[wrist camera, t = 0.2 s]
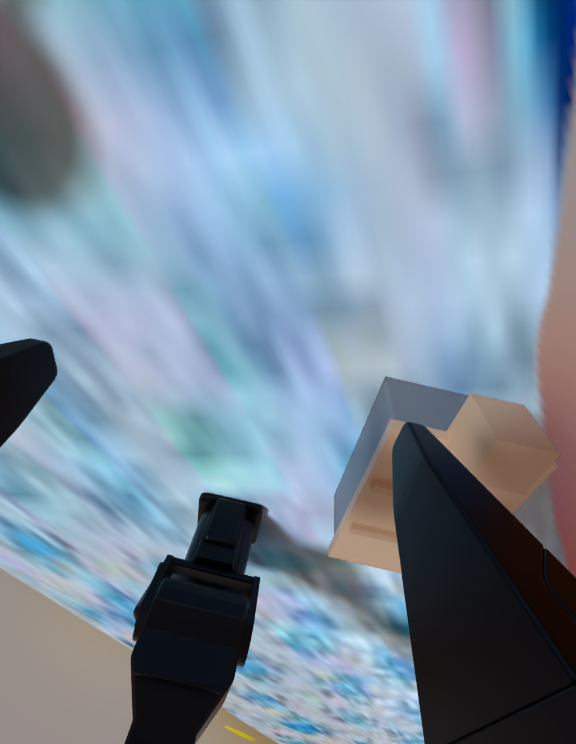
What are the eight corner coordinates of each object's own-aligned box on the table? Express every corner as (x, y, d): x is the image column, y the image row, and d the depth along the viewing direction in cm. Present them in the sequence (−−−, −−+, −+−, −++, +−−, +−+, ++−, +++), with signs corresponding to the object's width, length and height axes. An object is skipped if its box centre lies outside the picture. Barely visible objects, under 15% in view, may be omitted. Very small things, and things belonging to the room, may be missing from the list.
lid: (443, 573, 28) (457, 623, 25) (328, 547, 28) (327, 594, 25) (584, 419, 18) (633, 471, 15) (409, 379, 18) (424, 423, 15)
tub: (426, 516, 32) (440, 571, 28) (334, 495, 32) (334, 546, 28) (507, 404, 24) (543, 456, 20) (385, 376, 24) (396, 422, 20)
